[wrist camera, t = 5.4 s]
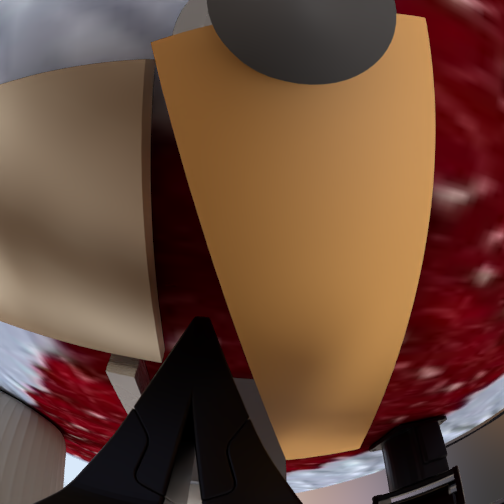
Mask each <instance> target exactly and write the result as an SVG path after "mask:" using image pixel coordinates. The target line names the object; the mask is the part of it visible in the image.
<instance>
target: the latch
mask: <svg viewBox="0 0 504 504" xmlns="http://www.w3.org/2000/svg"><path fill="white" fill-rule="evenodd" d="M207 8H208V14H209V17H210V20H211V23H212V25H209V26H204V27H200V28H197V29H193V30H189V31H186V32H182V33H179V34H175V35H172V36H169V37H166V38H163V39H160V40H157V41H154V42H151V46H152V50H153V54H154V58H155V62H156V66H157V71H158V75H159V79H160V83H161V86H162V90H163V94H164V98H165V102H166V106H167V110H168V113H169V117H170V121H171V124H172V128H173V132H174V135H175V139H176V143H177V146H178V150H179V153H180V157H181V160H182V164H183V167H184V171H185V174H186V177H187V181H188V184H189V188H190V191H191V194H192V198H193V201H194V204H195V207H196V211H197V214H198V217H199V220H200V224H201V227H202V230H203V233H204V236H205V239H206V243H207V246H208V249H209V252H210V255H211V258H212V261H213V264H214V267H215V270H216V273H217V276H218V279H219V282H220V285H221V288H222V291H223V294H224V297H225V300H226V303H227V306H228V309H229V311H230V314H231V317H232V320H233V323H234V326H235V329H236V331H237V334H238V337H239V340H240V342H241V345H242V348H243V351H244V353H245V356H246V359H247V362H248V364H249V367H250V370H251V372H252V375H253V378H254V380H255V383H256V386H257V388H258V391H259V394H260V396H261V399H262V401H263V404H264V406H265V409H266V412H267V414H268V417H269V419H270V422H271V424H272V427H273V429H274V432H275V434H276V437H277V439H278V442H279V444H280V446H281V449H282V451H283V454H284V456H285V458H286V460H291V459H300V458H308V457H316V456H322V455H329V454H335V453H340V452H345V451H351V450H355V449H360V447H361V445H362V442H363V440H364V438H365V436H366V434H367V432H368V430H369V428H370V426H371V423H372V421H373V419H374V417H375V414H376V412H377V410H378V407H379V405H380V403H381V400H382V398H383V395H384V393H385V390H386V388H387V385H388V382H389V380H390V377H391V374H392V372H393V369H394V366H395V363H396V360H397V357H398V354H399V351H400V348H401V345H402V342H403V338H404V335H405V332H406V328H407V325H408V321H409V318H410V314H411V310H412V306H413V302H414V298H415V294H416V290H417V286H418V281H419V277H420V272H421V267H422V262H423V256H424V251H425V245H426V239H427V233H428V226H429V218H430V210H431V201H432V191H433V179H434V163H435V96H434V81H433V69H432V60H431V52H430V44H429V37H428V31H427V25H426V20H425V18H423V17H417V16H410V15H403V14H396V6H395V1H394V0H207Z"/></svg>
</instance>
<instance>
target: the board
mask: <svg viewBox="0 0 504 504" xmlns="http://www.w3.org/2000/svg"><path fill="white" fill-rule="evenodd" d="M154 70H155V60H152V59H138V60H124V61H113V62H103V63H95V64H88V65H81V66H75V67H69V68H64V69H59V70H54V71H49V72H44V73H40V74H36V75H32V76H28V77H24V78H21V79H17V80H13V81H10V82H7V83H4V84H0V321H2V322H5V323H7V324H10V325H13V326H16V327H19V328H22V329H25V330H28V331H31V332H34V333H37V334H40V335H43V336H47V337H50V338H53V339H57V340H60V341H64V342H68V343H71V344H75V345H79V346H83V347H87V348H91V349H95V350H99V351H104V352H108V353H113V354H117V355H122V356H127V357H132V358H137V359H143V360H148V361H154V362H160V363H162V359H163V355H164V351H165V347H164V340H163V333H162V326H161V318H160V310H159V302H158V293H157V283H156V273H155V261H154V248H153V232H152V212H151V116H152V97H153V82H154Z"/></svg>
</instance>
